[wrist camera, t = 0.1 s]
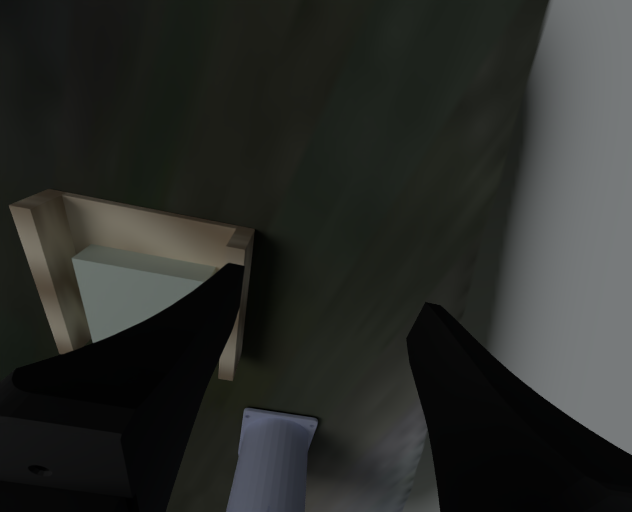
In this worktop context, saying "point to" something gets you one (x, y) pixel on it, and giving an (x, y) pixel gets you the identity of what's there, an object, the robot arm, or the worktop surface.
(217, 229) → the slide case
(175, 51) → the worktop surface
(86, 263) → the cover plate
